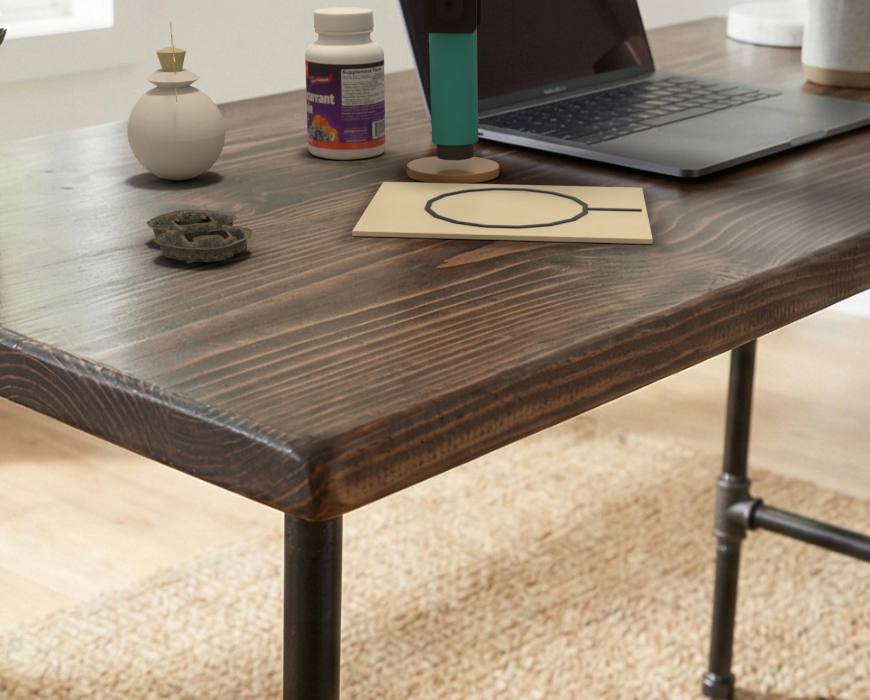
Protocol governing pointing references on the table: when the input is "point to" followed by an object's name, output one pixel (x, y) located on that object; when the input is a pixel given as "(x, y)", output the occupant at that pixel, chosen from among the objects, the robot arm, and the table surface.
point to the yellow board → (507, 213)
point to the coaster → (452, 170)
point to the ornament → (175, 122)
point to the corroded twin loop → (199, 235)
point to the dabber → (454, 94)
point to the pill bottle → (345, 86)
